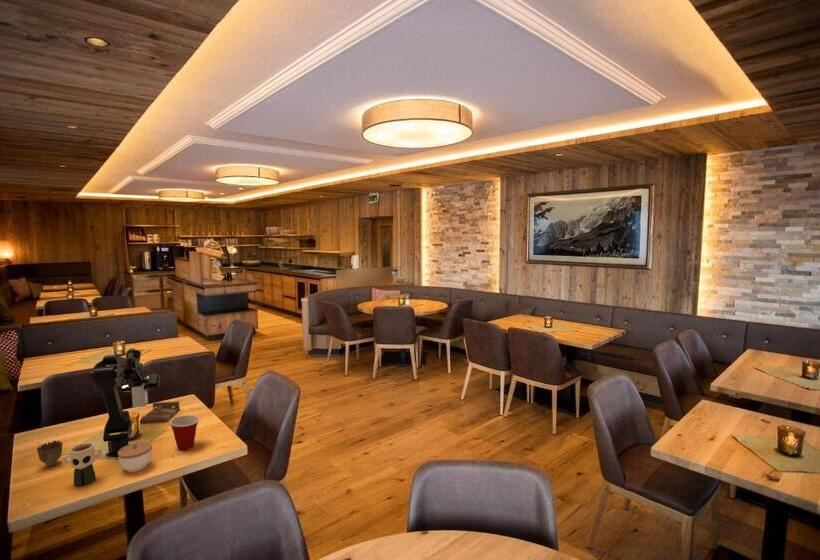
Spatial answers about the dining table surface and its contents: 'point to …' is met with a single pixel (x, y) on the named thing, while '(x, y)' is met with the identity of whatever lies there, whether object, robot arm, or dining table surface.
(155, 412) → the brown flat stand
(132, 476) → the dining table surface
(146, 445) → the lidded jar
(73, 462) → the character mug
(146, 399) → the grey rectangular block
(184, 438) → the plastic cup
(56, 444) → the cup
